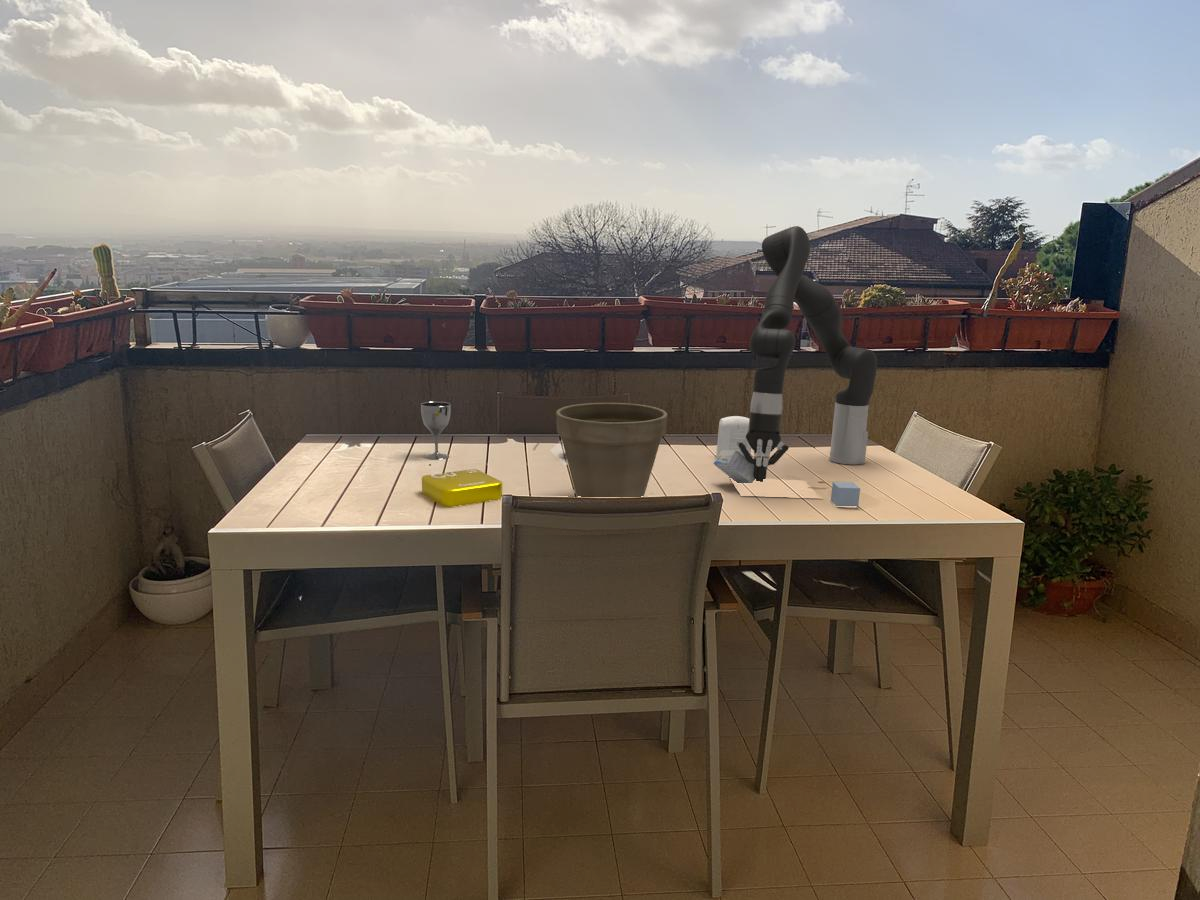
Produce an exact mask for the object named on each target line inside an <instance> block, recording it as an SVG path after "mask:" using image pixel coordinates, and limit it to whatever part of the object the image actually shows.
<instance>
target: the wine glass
mask: <svg viewBox="0 0 1200 900" xmlns="http://www.w3.org/2000/svg"><path fill="white" fill-rule="evenodd" d="M451 410H452V409H451V403H450V402H447V401H425V402H422V403H420V413H421V418H422V422H423V425H424V426H425V427H426V428H427V429H428V431H430V433H431V435H432V436H433V440H434V441H433V442H434V452H433V453H429V454H425V455H424V456H423V458H424V459H426V460H434V461H438V460H440V461H441V460H447V459H449V458H450V455H449V454H446V453H440V452H439V438H440V436H441V433H442V432H443V431H444V429H445V428H446V427H448V425H449V423H450V419H451Z"/></svg>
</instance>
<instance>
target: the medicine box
mask: <svg viewBox="0 0 1200 900" xmlns="http://www.w3.org/2000/svg"><path fill="white" fill-rule="evenodd" d="M713 465H714V466H715V467H717V469H719V470H720V471H721V472H722V473H724V474H725V475H727V476H728V478H729V477H730V478H732V479H733V480H734V481H736V482H737V483H753V481H754V480H755V478H754V476H753V475H754V464H751V463H749V462H748V461H747V459H746V458H745V457H744V456H743V455H742V454H741V453H739V452H738V451H737V450H723V451H721V452H720V454H719V455H718V457H717V456H716V459H715V460H714V462H713Z"/></svg>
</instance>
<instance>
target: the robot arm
mask: <svg viewBox="0 0 1200 900" xmlns="http://www.w3.org/2000/svg"><path fill="white" fill-rule="evenodd" d="M761 242H762V243H761V250H762V254H763V258H764V259H765V261H766V263H767V265H768V266H769V268H770V269H771V270H772V271H773V273H774V275H776V279H775V280H774V281H773V283H772V284H771V285H770V287H769V289H768V291H767V293H766V296H765V299H764V303H763V309H762V316H761V318H760V320H759V322H758V323H757V326H755V329H754V331H753V332H752V334H751V336H750V340H749V350H750V352H751V353H752V355H753V356H755V357H756V358H765V359H777V361H776V363H775V364H773V366H765V367H759V368H757V369H756V370H755V372H754V378H753V390H752V391H753V392H752V396H751V401H750V408H749V409H750V411H749V430H748V433H747V435H746V438H745V439H744V440H742V441H741V442H737V446H738V447H739V449H740V450H741V452H742V453H743V455H744V456H745V458H746V459H747V461H748V462H749V463H751V464H754V475H753V476H754V478H755V479H756V481H760V482H763V479H766V478H767V471H768V467H769V466H774V465H775V464H776V463H777V462H778V461H779V460H780V458H782V456H784V455H785V453H786V452H787V451H788V450H789V449H790V448H789V446H788V445H787V444H785V443H784V442H783V441H782V437H781V434H780V433H781V432H780V431H781V425H782V423H781V421H782V414H783V393H784V392H783V391H784V382H785V375H786V371H787V367H788V364H789V361H790V359H791V357H792V354H793V353H794V349H795V346H796V337H795V334H794V333H793V331H791V329H790V330H789V329H786V328H788V326H789V325H790V324H791V321H792V317H793V316H792V315H793V308H794V303H795V304H796V305H797V307H798V309H799V310H800V312H801V314H802V316H803V317H804V319H805V321H806V322H807V323H808V325H809V326H810V328H811V329H812V331H813V333H814V335H815V336H816V338H817V340H818V341H819V342H820V344H821V346H822V348H823V350H824V352H825V353H826V356H827V358H828V361H829V363H830V365H831V366H832V369H833V370H834V372H835V373H836V375H837V376H839V377H840V378H843V379H847V380H849V382H848V387H847V388H846V389H844V390H841V391H838V392H837V393H836V395H835V403H834V410H833V411H834V413H833V422H832V430H831V431H832V432H831V433H832V434H831V441H830V442H831V443H830V451H829V461H831V462H832V463H837V464H841V465H853V466H854V465H861V464H862V465H864V464H866V463H865V462H866V454H867V445H868V437H869V432H868V430H867V424H868V423H867V422H868V414H869V406H870V405H869V404H870V399H871V397H872V395H873V393H874V388H875V381H876V375H877V369H878V360H877V355H876V353H875V352H874V351H873V350H871V349H869V348H862V347H854V346H852V345H851V344H850V342H848V340H847V338H846V337H845V335H844V334H843V332H842V320H843V317H842V316H843V314H842V310H841V308H840V305H839V304H838V302H837V300H836V298H835V296H834V295H833V294H832V292H831V291H830V290H829V289H828V288H827V287H826V286H825V285H823V284H821V283H819V282H818V281H816V280H813V279H811V278H810V277H807V276H805V275H804V270H805V268H806V265H807V263H808V259H809V258H810V257H809V256H810V251H811V243H810V242H811V241H810V238H809V235H808V234H807V231H806V230H805V229H804V228H803V227H801V226H799V225H798V226H797V225H796V226H795V225H794V226H791V227H788V228H785V229H783V230H780V231H777V232H775V233H773V234H771V235H768V236H767V237H765V238H763V241H761ZM747 443H749V445H750V446H751V451H753V456H752V454H751V455H750V453H749V452H748V450H747V449H746V448H748V445H747ZM775 449H777V450H776V451H775V452H774V453H772V452H773V451H774V450H775ZM771 453H772V455H771Z"/></svg>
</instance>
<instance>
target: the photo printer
mask: <svg viewBox="0 0 1200 900" xmlns="http://www.w3.org/2000/svg"><path fill="white" fill-rule="evenodd" d="M749 419H750V417H745V416H739V415H733V416H730V415H729V416H726V417H722V418H720V420H719V424H718V430H717V431H718V432H717V445H716V458H717V457H718V455H719V454H720V452H721V451H723V450H737V451H738V452H739V453H741V454H742V455H743V453H742V452H741V450H740V449H739V447H738V446H737V442H741V441H742V440H744V439H745V438H746V435H747V433H748V430H749ZM747 445H748V448H746V449H747V450H748V452H749V453H750V455H751V456H752V448H751V446H750V445H749V443H747ZM743 456H744V455H743ZM744 457H745V456H744Z"/></svg>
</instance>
